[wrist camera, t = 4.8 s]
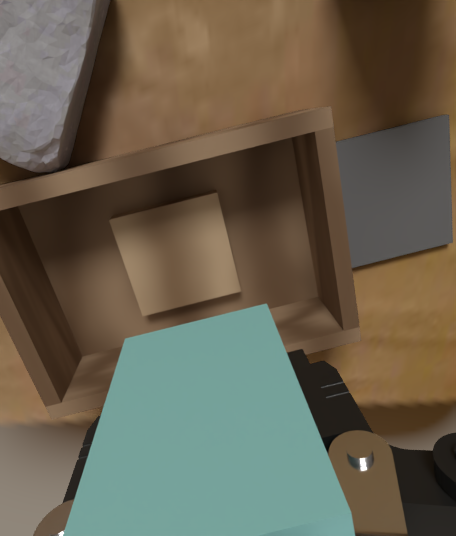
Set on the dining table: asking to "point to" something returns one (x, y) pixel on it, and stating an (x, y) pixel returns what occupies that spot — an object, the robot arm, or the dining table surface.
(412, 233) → the mat
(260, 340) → the block
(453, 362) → the dining table surface
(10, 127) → the stone block
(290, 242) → the crate
